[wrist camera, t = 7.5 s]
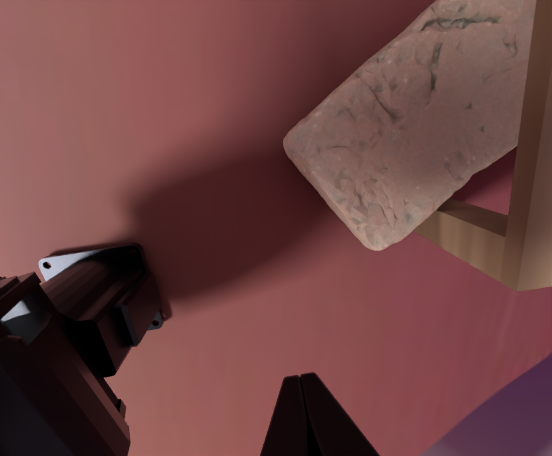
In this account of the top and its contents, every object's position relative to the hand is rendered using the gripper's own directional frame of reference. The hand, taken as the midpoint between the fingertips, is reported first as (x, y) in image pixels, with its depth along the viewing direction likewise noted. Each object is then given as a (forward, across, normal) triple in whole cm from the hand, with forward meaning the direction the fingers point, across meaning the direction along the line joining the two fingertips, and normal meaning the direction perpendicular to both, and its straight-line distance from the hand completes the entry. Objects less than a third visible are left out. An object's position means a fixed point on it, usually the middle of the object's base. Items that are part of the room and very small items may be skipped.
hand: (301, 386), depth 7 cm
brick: (+12, -10, -7) cm, 18 cm away
